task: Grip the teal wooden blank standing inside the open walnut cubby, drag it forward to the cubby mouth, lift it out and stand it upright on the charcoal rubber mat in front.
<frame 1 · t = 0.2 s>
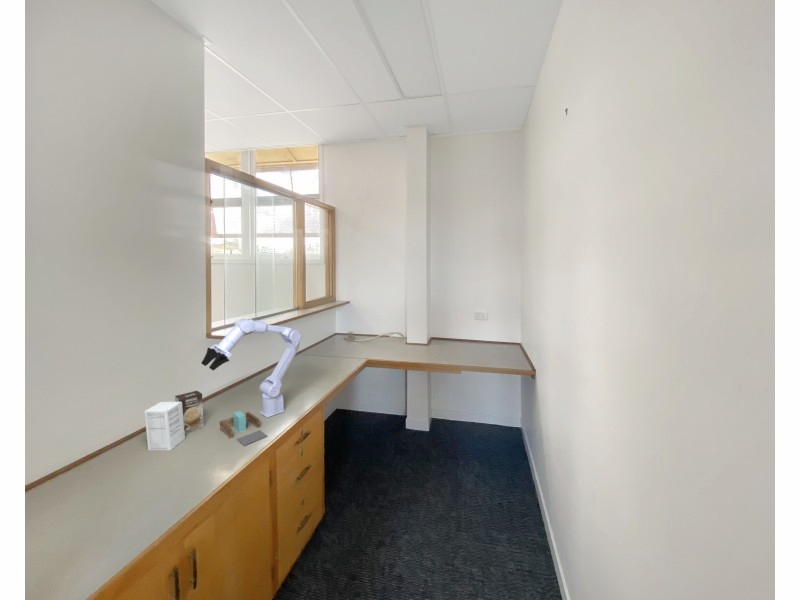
hand: (207, 366, 140), 31 cm above the worktop, tool tilted 45°, fingers open, 7 cm apart
walnut cubby: (240, 428, 149), on the worktop
supplement box: (167, 445, 136), on the worktop
coffee box: (190, 429, 149), on the worktop
charcoal mat: (252, 438, 141), on the worktop
teal blank: (239, 428, 149), on the worktop
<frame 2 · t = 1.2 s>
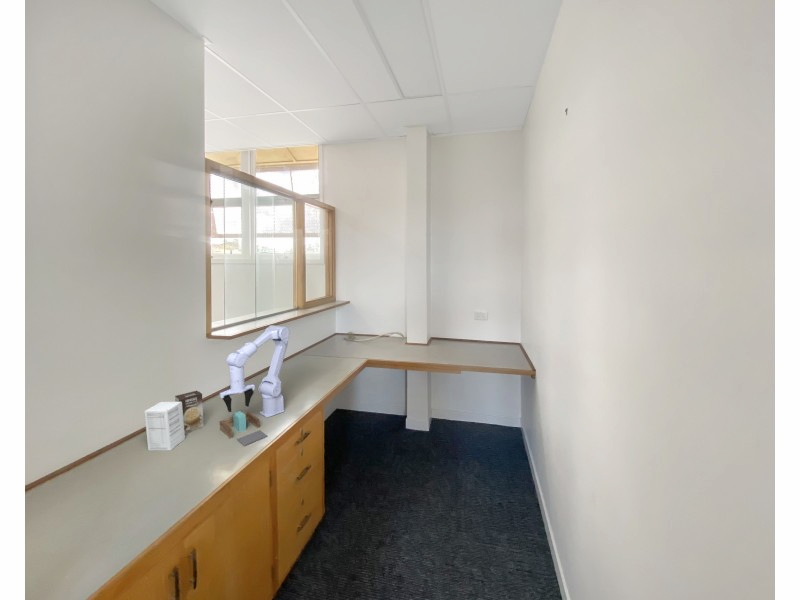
hand: (238, 408, 148), 10 cm above the worktop, tool pointing down, fingers open, 7 cm apart
nothing on the worktop moved.
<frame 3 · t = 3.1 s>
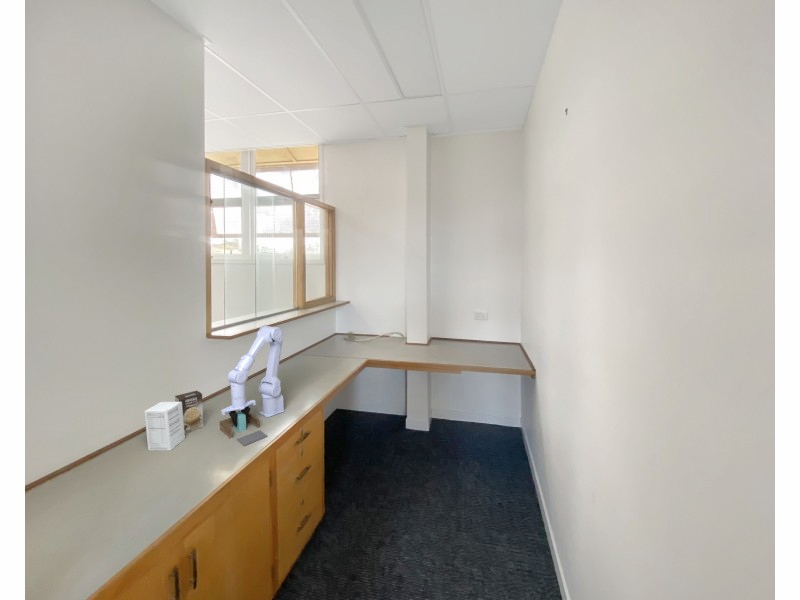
hand: (239, 424, 149), 2 cm above the worktop, tool pointing down, fingers closed on teal blank, 3 cm apart
teal blank: (239, 428, 149), on the worktop, touching gripper
everything else where it was.
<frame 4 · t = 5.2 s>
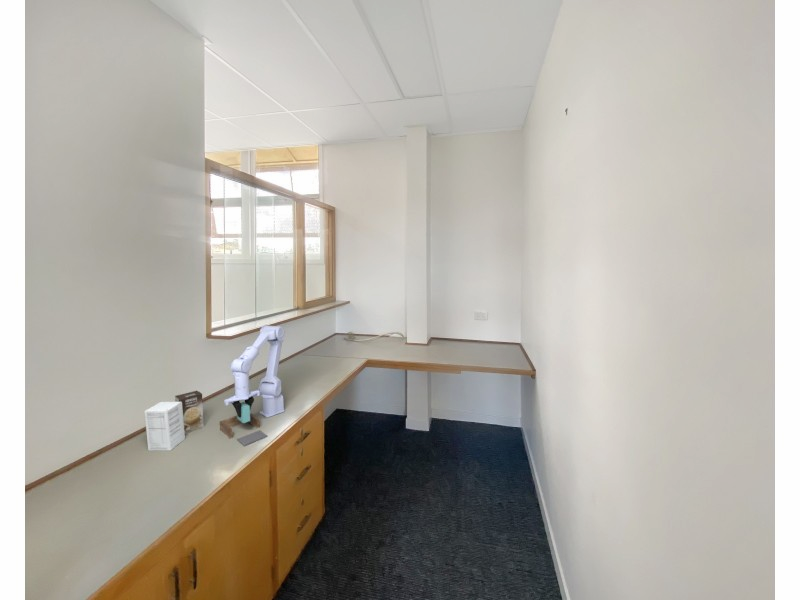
hand: (243, 415, 145), 8 cm above the worktop, tool pointing down, fingers closed on teal blank, 3 cm apart
teal blank: (243, 419, 146), point 6 cm above the worktop, touching gripper
everything else where it was.
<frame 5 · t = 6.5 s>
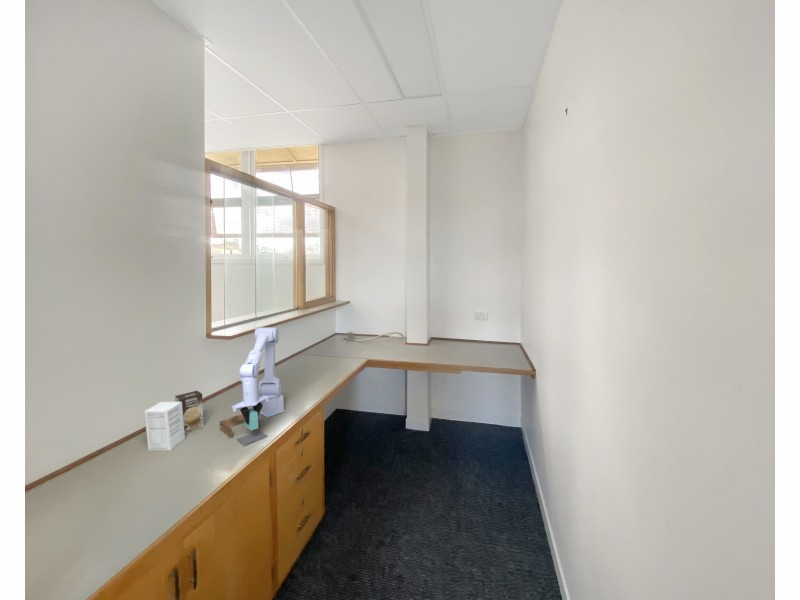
hand: (251, 421, 140), 8 cm above the worktop, tool pointing down, fingers closed on teal blank, 3 cm apart
teal blank: (251, 426, 141), point 5 cm above the worktop, touching gripper
everything else where it was.
when the fingers open (4 cm above the worktop, at t = 7.5 s): teal blank stays where it is, resting on charcoal mat.
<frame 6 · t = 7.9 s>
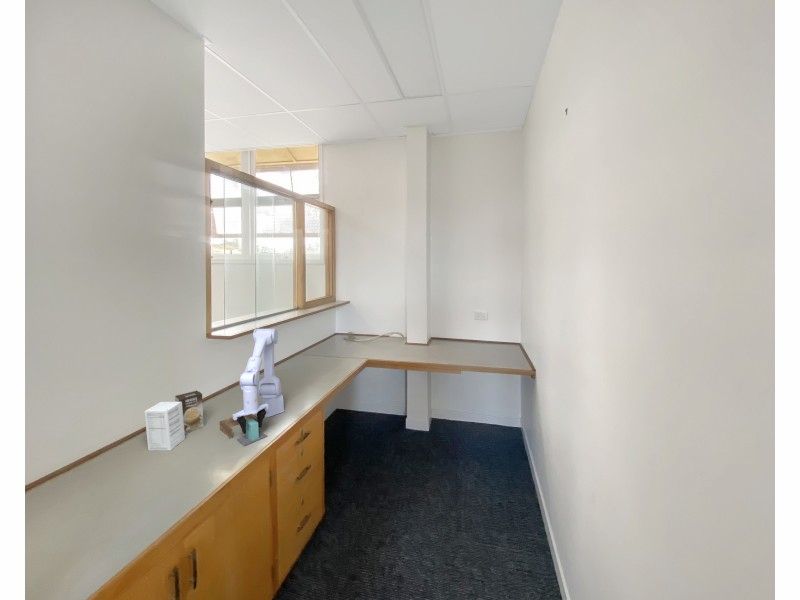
hand: (252, 429, 141), 4 cm above the worktop, tool pointing down, fingers open, 6 cm apart
teal blank: (252, 437, 141), resting on charcoal mat
everything else where it was.
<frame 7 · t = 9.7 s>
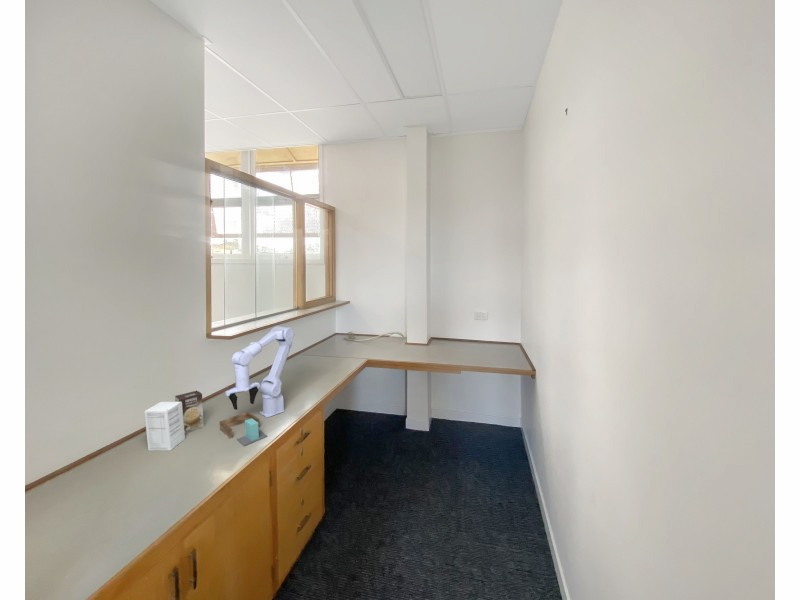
hand: (243, 406, 151), 9 cm above the worktop, tool pointing down, fingers open, 7 cm apart
nothing on the worktop moved.
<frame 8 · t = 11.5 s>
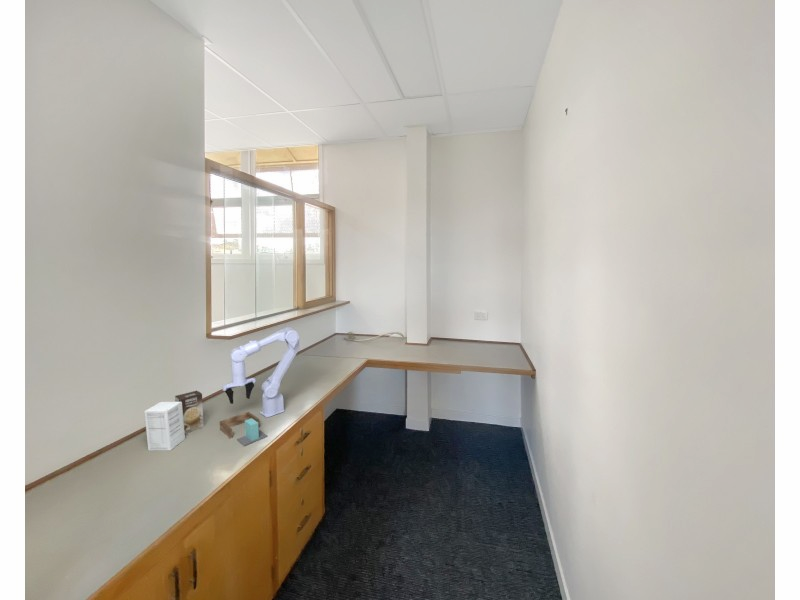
hand: (240, 400, 157), 9 cm above the worktop, tool pointing down, fingers open, 7 cm apart
nothing on the worktop moved.
at the end: teal blank 0.2 cm off-centre on the charcoal mat, point 0.5 cm above the charcoal mat's base; teal blank tilted 0°; the gripper is holding nothing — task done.
